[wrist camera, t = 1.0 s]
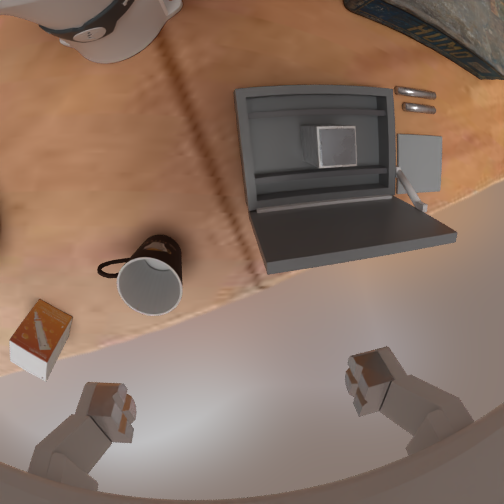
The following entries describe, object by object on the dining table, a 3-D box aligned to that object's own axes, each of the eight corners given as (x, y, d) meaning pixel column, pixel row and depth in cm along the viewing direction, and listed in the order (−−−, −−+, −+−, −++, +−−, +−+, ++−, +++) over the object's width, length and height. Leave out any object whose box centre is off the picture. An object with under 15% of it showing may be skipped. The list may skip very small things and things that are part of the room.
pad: (396, 134, 40) (398, 134, 40) (440, 136, 40) (442, 136, 40) (396, 193, 44) (397, 194, 44) (438, 190, 45) (440, 191, 44)
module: (300, 125, 37) (317, 126, 31) (334, 124, 38) (356, 126, 31) (302, 160, 40) (320, 169, 33) (335, 158, 40) (358, 166, 33)
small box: (73, 316, 47) (47, 363, 36) (68, 337, 49) (46, 383, 38) (39, 297, 45) (8, 340, 33) (36, 319, 47) (9, 362, 35)
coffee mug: (199, 247, 44) (195, 280, 35) (171, 287, 47) (162, 325, 38) (134, 206, 41) (113, 230, 32) (110, 250, 43) (88, 283, 34)
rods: (394, 86, 36) (398, 86, 35) (430, 91, 37) (435, 91, 36) (395, 110, 38) (400, 110, 37) (432, 114, 39) (437, 114, 37)
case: (233, 92, 35) (246, 68, 19) (386, 91, 37) (471, 88, 20) (247, 211, 43) (267, 274, 26) (388, 196, 44) (463, 240, 28)
